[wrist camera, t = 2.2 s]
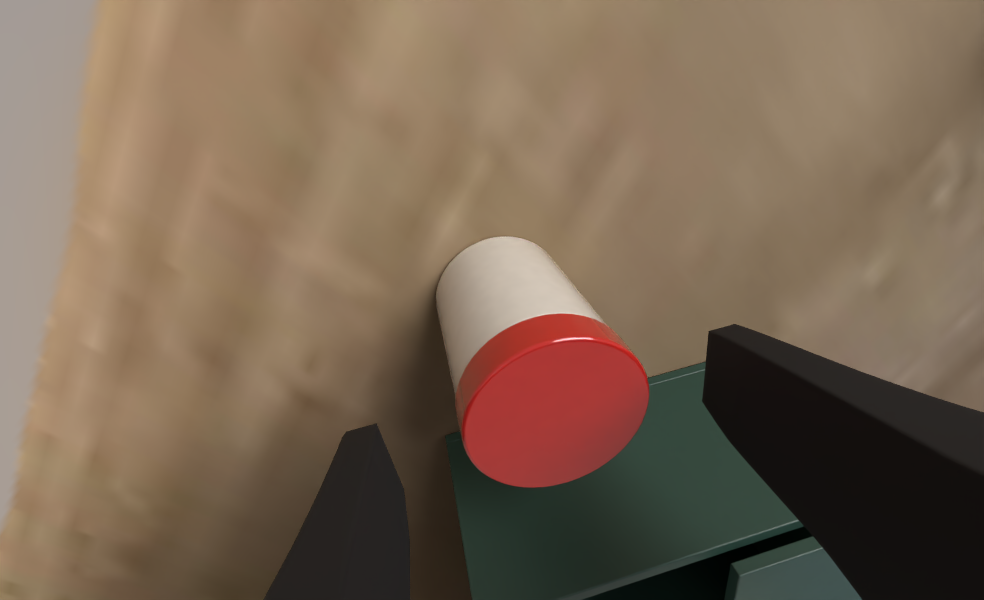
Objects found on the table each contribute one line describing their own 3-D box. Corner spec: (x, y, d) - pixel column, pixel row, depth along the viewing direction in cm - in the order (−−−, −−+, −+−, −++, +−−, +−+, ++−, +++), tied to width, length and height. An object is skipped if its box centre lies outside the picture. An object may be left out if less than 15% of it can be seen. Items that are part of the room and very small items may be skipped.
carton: (493, 590, 22) (536, 799, 16) (444, 435, 16) (481, 662, 10) (734, 513, 23) (860, 679, 17) (763, 345, 18) (964, 499, 12)
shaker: (555, 220, 13) (652, 314, 9) (566, 332, 15) (650, 459, 11) (419, 252, 13) (441, 371, 8) (449, 363, 15) (481, 510, 10)
